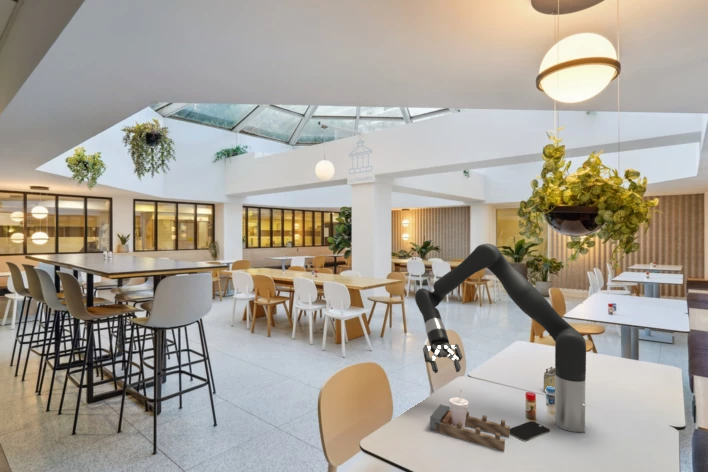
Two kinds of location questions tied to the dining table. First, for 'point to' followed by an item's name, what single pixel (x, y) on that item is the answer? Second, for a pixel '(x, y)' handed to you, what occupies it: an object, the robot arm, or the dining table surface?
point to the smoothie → (458, 410)
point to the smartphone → (528, 431)
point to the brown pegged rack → (476, 435)
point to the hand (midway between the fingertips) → (447, 371)
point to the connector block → (438, 416)
